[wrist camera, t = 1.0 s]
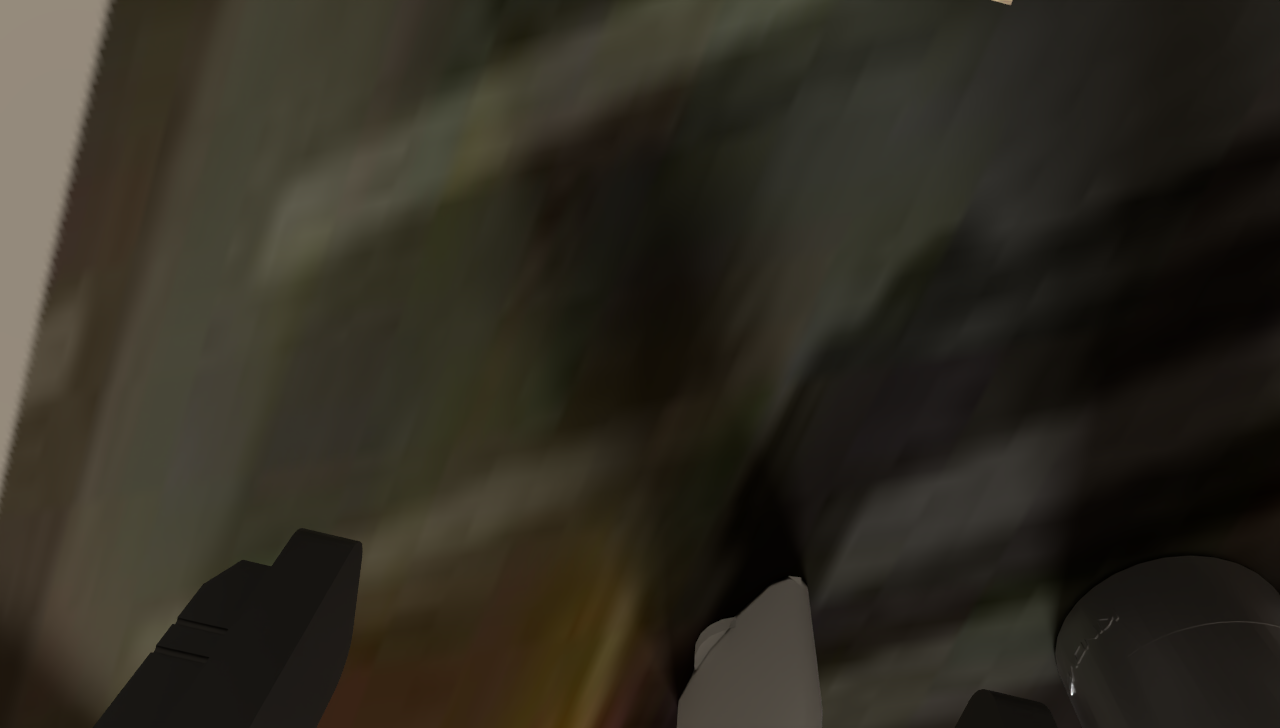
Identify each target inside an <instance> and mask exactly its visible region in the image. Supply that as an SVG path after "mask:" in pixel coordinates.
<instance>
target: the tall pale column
mask: <svg viewBox="0 0 1280 728" xmlns="http://www.w3.org/2000/svg"><path fill="white" fill-rule="evenodd" d="M694 667H695V669H694V671H693V673H692V675H691V677H690V679H689V681H688V683H687V684H686V686H685V688H684V690H683V692H682V694H681V696H680V698H679V702H678V720H677V728H822V714H823V710H822V701H821V693H820V684H819V676H818V668H817V659H816V650H815V642H814V635H813V627H812V620H811V611H810V603H809V594H808V586H807V585H806V583H805V582H804V581H803V579H802V578H801V577H792V576H787V577H785V578H782V579H779V580H777V581H774V582H771V583H770V584H769V585H768V586H767V587H766V588H764V589H763V590H762V591H761V592H760V593H759V594H758V595H757V596H756V597H755V598H754V599H753V600H751V601H750V602H749V603H748V604H747V605H746V606H745V607H744V608H743V609H742V610H741V611H740V612H739V613H737V614H736V615H735V617H733V618H727V619H722V620H720V621H718V622H715V623H713V624H711V625H710V626H708V627H707V628H706V629H705V630H704V631H703V632H702V633H701V634H700V636H699V638H698V640H697V642H696V645H695V662H694Z"/></svg>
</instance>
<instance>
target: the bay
mask: <svg viewBox="0 0 1280 728" xmlns="http://www.w3.org/2000/svg"><path fill="white" fill-rule="evenodd" d="M993 1H997V2H1001V3H1004V4H1008V5H1011V3H1012V0H993Z"/></svg>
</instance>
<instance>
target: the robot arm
mask: <svg viewBox="0 0 1280 728" xmlns="http://www.w3.org/2000/svg"><path fill="white" fill-rule="evenodd" d="M361 561H362V543H361V542H360V541H355V540H351V539H347V538H342V537H338V536H334V535H330V534H325V533H321V532H317V531H312V530H308V529H304V528H300V529H298V530H297V531H296V532H295V533H294V535H293V536H292V537H291V539H290V540H289V542H288V543H287V545H286V546H285V547H284V549H283V550H282V552H281V553H280V555H279V556H278V558H277V559H276V561H275V562H274V564H273V565H272V566H267V565H263V564H258V563H254V562H250V561H245V560H241V561H240V562H238V563H237V564H235V565H233V566H232V567H230V568H229V569H227V570H225V571H224V572H222V573H220V574H219V575H217V576H216V577H214V578H212V579H211V580H209V581H208V582H206V583H204V584H203V585H202V586H201V588H200V589H199V590H198V592H197V593H196V594H195V596H194V597H193V598H192V599H191V601H190V602H189V603H188V605H187V606H186V607H185V609H184V610H183V611H182V612H181V614H180V615H179V616H178V619H177V622H176V624H175V625H174V624H172V625H171V627H170V628H169V629H168V631H167V632H166V633H165V635H164V636H163V637H162V638H161V640H160V641H159V642H158V644H157V645H156V649H155V651H154V653H150V654H149V655H148V657H147V658H146V659H145V661H144V662H143V663H142V664H141V666H140V667H139V668H138V670H137V671H136V672H135V674H134V675H133V676H132V677H131V679H130V680H129V681H128V683H127V684H126V685H125V687H124V688H123V689H122V690H121V692H120V693H119V694H118V696H117V697H116V698H115V700H114V701H113V702H112V703H111V705H110V706H109V707H108V709H107V710H106V711H105V713H104V714H103V715H102V716H101V718H100V719H99V720H98V722H97V723H96V724H95V726H94V727H93V728H316V727H317V725H318V723H319V721H320V719H321V717H322V715H323V713H324V711H325V709H326V707H327V705H328V703H329V701H330V699H331V697H332V695H333V693H334V691H335V688H336V686H337V684H338V682H339V679H340V677H341V674H342V671H343V668H344V665H345V662H346V659H347V656H348V652H349V648H350V644H351V639H352V633H353V625H354V617H355V609H356V601H357V593H358V585H359V577H360V569H361ZM1055 657H1056V663H1057V669H1058V673H1059V675H1060V677H1061V680H1062V682H1063V684H1064V686H1065V689H1066V691H1067V693H1068V695H1069V698H1070V700H1071V702H1072V705H1073V707H1074V709H1075V711H1076V714H1077V716H1078V718H1079V721H1080V723H1081V725H1082V727H1083V728H1280V595H1279V593H1278V592H1277V591H1276V590H1275V588H1274V587H1273V586H1272V585H1271V584H1269V583H1268V582H1267V581H1266V580H1265V579H1263V578H1262V577H1261V576H1260V575H1259V574H1257V573H1256V572H1254V571H1252V570H1250V569H1248V568H1246V567H1244V566H1242V565H1240V564H1237V563H1234V562H1230V561H1226V560H1222V559H1218V558H1215V557H1202V556H1178V557H1167V558H1160V559H1156V560H1152V561H1148V562H1144V563H1140V564H1137V565H1135V566H1132V567H1130V568H1127V569H1125V570H1123V571H1120V572H1118V573H1116V574H1114V575H1112V576H1110V577H1109V578H1107V579H1106V580H1104V581H1103V582H1101V583H1099V584H1098V585H1096V586H1095V587H1093V588H1092V589H1091V590H1090V591H1089V592H1088V593H1087V594H1086V595H1085V596H1083V597H1082V598H1081V599H1080V600H1079V601H1078V602H1077V603H1076V605H1075V606H1074V607H1073V609H1072V610H1071V611H1070V613H1069V614H1068V615H1067V617H1066V618H1065V620H1064V622H1063V625H1062V627H1061V630H1060V632H1059V634H1058V637H1057V644H1056V652H1055ZM955 728H1058V727H1057V725H1056V723H1055V720H1054V718H1053V716H1052V714H1051V712H1050V710H1049V709H1048V708H1047V706H1045V705H1044V704H1043V703H1040V702H1037V701H1032V700H1028V699H1024V698H1020V697H1015V696H1011V695H1007V694H1002V693H998V692H994V691H990V690H985V689H981V690H978V691H977V692H976V693H975V694H974V695H973V696H972V697H971V699H970V700H969V702H968V704H967V706H966V708H965V710H964V712H963V713H962V715H961V717H960V719H959V721H958V723H957V725H956V726H955Z"/></svg>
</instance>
